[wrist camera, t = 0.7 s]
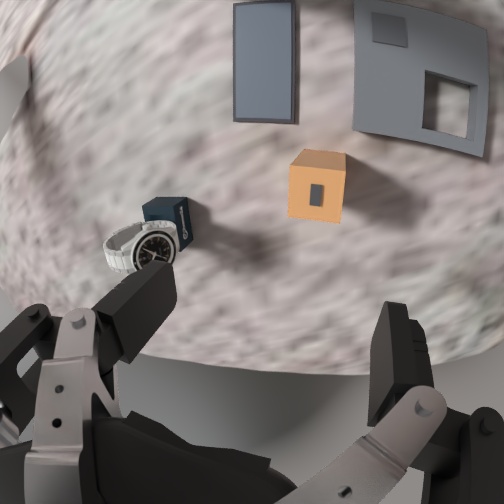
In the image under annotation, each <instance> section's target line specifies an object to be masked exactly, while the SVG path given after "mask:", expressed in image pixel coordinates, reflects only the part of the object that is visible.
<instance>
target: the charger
mask: <svg viewBox="0 0 504 504" xmlns="http://www.w3.org/2000/svg"><path fill="white" fill-rule="evenodd" d="M345 175H346V158H345V153H338V152H329V151H320V150H310V149H304V150H303V151H302V152H301V153H300V154H299V155H298V157H297V158H296V159H295V160H294V161H293V162H292V163H291V164H290V173H289V197H288V217H293V218H301V219H309V220H317V221H324V222H332V223H339V224H340V220H341V212H342V203H343V194H344V185H345Z"/></svg>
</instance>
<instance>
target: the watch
mask: <svg viewBox="0 0 504 504" xmlns="http://www.w3.org/2000/svg"><path fill="white" fill-rule="evenodd" d="M142 209H143V214H144V219H145V222H143V223H141V222H138V223H133V224H131V225H129V226H127V227H124V228H122V229H120V230H118V231H116V232H114V233H113V235H111V236H110V237H109V238H107V240H105V242H104V244H103V248H104V252H105V255H106V258H107V261H108V264H109V267H110V268H111V269H112V270H113V271H116V272H119V273H124V274H128V275H129V274H131V273H133V272H135V271H137V270H140V269H142V268H143V267H144V266H145V265H146V264H148V263H149V262H150V261H151V260H158V261H163V262H168V263H171V264H172V265H173V263H174V261H175V259H176V257H177V256H178V252H181V251H182V250H183V249H184V248H185V247H186V246H187V245H188V244H189V243H190V242H191V241H192V240H193V236H192V230H191V223H190V216H189V210H188V203H187V197H156V198H154V199H152V200H151V201H149V202H147V203H146V204H144V205H143V206H142Z"/></svg>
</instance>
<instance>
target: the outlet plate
mask: <svg viewBox="0 0 504 504" xmlns="http://www.w3.org/2000/svg"><path fill="white" fill-rule="evenodd" d="M353 10H354V41H355V73H354V107H353V126H352V129H353V131H361V132H368V133H375V134H381V135H387V136H393V137H398V138H404V139H409V140H414V141H419V142H424V143H428V144H433V145H437V146H441V147H445V148H450V149H453V150H457V151H461V152H465V153H469V154H472V155H476V156H479V157H482V158H483V152H484V144H485V136H486V126H487V114H488V95H489V59H488V41H487V30H486V29H483V28H481V27H478V26H475V25H473V24H470V23H467V22H464V21H462V20H459V19H456V18H453V17H449V16H446V15H443V14H439V13H436V12H432V11H429V10H425V9H421V8H417V7H412V6H408V5H403V4H398V3H393V2H387V1H381V0H353ZM425 73H427V74H431V75H435V76H439V77H442V78H446V79H450V80H453V81H456V82H460V83H463V84H466V85H469V86H470V97H469V114H468V126H467V136H466V139H465V138H462V137H458V136H454V135H451V134H447V133H443V132H439V131H434V130H430V129H426V128H422V121H423V106H424V84H425Z"/></svg>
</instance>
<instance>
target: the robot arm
mask: <svg viewBox="0 0 504 504" xmlns="http://www.w3.org/2000/svg"><path fill="white" fill-rule="evenodd" d="M176 302H177V292H176V285H175V279H174V272H173V267H172V264H171V263H168V262H163V261H158V260H151V261H150V262H149V263H148V264H146V265H145V266H144V267H143V268H142V269H140V270H137V271H135V272H133V273H131V274H129V275H128V276H127V277H126V278H125V279H123V280H122V281H121V283H119V284H118V285H117V286H116V287H114V289H112V290H111V291H110V292H109V293H108V294H107V295H106V296H105V297H103V298H102V299H101V300H100V301H99V302H98V303H97V304H96V305H95V306H94V307H93V308H91V309H89V308H77V309H74V310H72V311H70V312H68V313H67V314H66V315H65V316H64V317H55V316H51V314H50V312H49V309H48V307H47V306H46V305H44V304H34V305H31V306H29V307H28V308H26V309H25V310H24V311H23V312H22V313H20V314H19V315H18V316H17V317H16V318H15V319H14V320H13V321H12V322H11V323H10V324H9V325H8V326H7V327H6V328H5V329H4V330H3V331H2V332H0V504H378V503H379V502H380V501H381V500H382V499H383V498H384V497H385V496H386V495H387V494H388V493H389V492H390V491H391V490H392V489H393V487H395V485H396V484H397V483H398V482H399V481H400V480H401V479H402V477H403V476H404V475H405V473H406V472H407V470H406V469H407V468H408V467H412V468H415V469H418V470H421V471H424V482H423V491H422V500H421V504H504V421H503V418H502V417H501V415H500V414H499V413H498V412H497V411H496V410H494V409H492V408H489V407H481V408H478V409H477V410H476V411H474V413H473V414H472V415H471V416H470V415H467V414H464V413H461V412H458V411H455V410H453V409H450V408H448V407H447V404H446V401H445V398H444V397H443V395H442V394H441V393H440V392H439V391H437V390H436V389H435V388H434V382H433V375H432V369H431V363H430V357H429V354H428V347H427V344H426V337H425V332H424V330H423V328H422V327H421V325H420V324H419V323H418V321H417V320H412V319H409V317H408V311H407V306H406V304H402V303H395V302H389V301H385V302H384V305H383V307H382V310H381V313H380V316H379V319H378V322H377V325H376V328H375V331H374V334H373V337H372V342H371V349H370V390H369V410H368V423H367V426H370V427H374V428H373V429H372V430H371V431H370V432H369V433H368V434H367V435H366V436H364V437H363V436H362V437H360V438H359V439H358V440H357V441H355V442H354V443H353V444H352V445H351V446H350V447H349V448H347V449H346V450H345V451H344V452H343V453H342V454H341V455H339V456H338V457H337V458H336V459H335V460H333V461H332V462H331V463H330V464H328V465H327V466H326V467H325V468H324V469H322V470H321V471H320V472H318V473H317V474H316V475H314V476H313V477H312V478H310V479H309V480H308V481H307V482H305V483H304V484H302V485H301V486H299V487H297V486H296V485H295V484H294V483H293V482H292V481H291V480H290V479H288V478H287V477H286V476H285V475H283V474H281V473H280V472H278V471H276V470H274V469H272V468H270V461H271V459H270V458H265V457H261V456H257V455H253V454H250V453H246V452H242V451H238V450H235V449H227V448H215V447H205V446H196V445H192V444H189V443H188V442H186V441H185V440H183V439H181V438H180V437H179V436H177V435H176V434H174V433H173V432H172V431H170V430H169V429H168V428H166V427H165V426H164V425H162V424H161V423H158V422H156V421H154V420H151V419H149V418H147V417H144V416H142V415H140V414H138V413H136V412H134V411H131V412H130V414H129V415H128V416H127V418H123V417H122V414H121V411H120V407H119V398H118V397H119V396H118V381H117V367H116V365H115V364H116V362H117V361H118V360H121V361H123V362H126V363H128V364H130V363H131V362H132V361H133V360H134V358H135V357H136V356H137V354H138V353H139V352H140V351H141V349H142V348H143V347H144V346H145V344H146V343H147V342H148V341H149V339H150V338H151V337H152V336H153V334H154V333H155V332H156V331H157V329H158V328H159V327H160V326H161V324H162V323H163V322H164V321H165V320H166V318H167V317H168V316H169V315H170V313H171V312H172V311H173V310H174V308H175V305H176ZM32 347H33V348H34V350H35V352H36V353H37V355H38V357H39V358H38V359H37V361H36V362H35V363H34V364H33V365H32V366H31V367H30V369H29V370H28V371H27V372H26V373H25V374H24V375H23V377H22V378H20V377H19V376H18V374H17V364H18V363H19V361H20V360H21V359H22V358H23V357H24V356H25V355H26V353H28V351H29V350H30V349H31V348H32ZM33 417H34V426H33V438H32V440H31V441H27V442H23V443H22V442H21V441H20V440H19V436H20V435H21V433H22V432H23V430H24V429H25V428H26V426H27V425H28V424H29V422H30V421H31V419H32V418H33Z"/></svg>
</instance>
